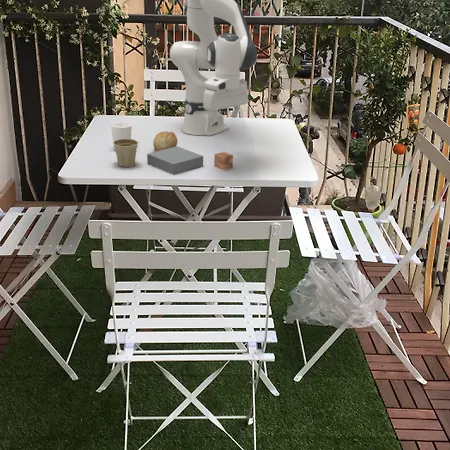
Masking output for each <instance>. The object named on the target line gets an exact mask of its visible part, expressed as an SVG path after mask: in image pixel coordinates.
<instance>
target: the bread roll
mask: <svg viewBox="0 0 450 450" xmlns="http://www.w3.org/2000/svg"><path fill="white" fill-rule="evenodd" d="M152 143H153V147H154V150H155V151H154V152H156V151H160V150H164V149H168V148H172V147H176V146H178V137H177V135H176V133H174V132H172V131H170V132H169V131H160V132H158V133H157V134H156V135H155V137H154V139H153V142H152Z"/></svg>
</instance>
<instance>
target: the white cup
mask: <svg viewBox="0 0 450 450" xmlns="http://www.w3.org/2000/svg"><path fill="white" fill-rule="evenodd" d="M111 136H112V143H113V142H114V141H115V140H118V139H132V124H131V123H129V122H125V121H123V122H122V121H121V122H120V121H118V122H113V123H112V124H111ZM113 149H114V151H116V149H115V147H114V146H113Z"/></svg>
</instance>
